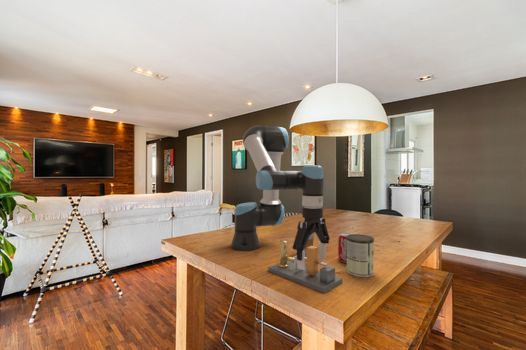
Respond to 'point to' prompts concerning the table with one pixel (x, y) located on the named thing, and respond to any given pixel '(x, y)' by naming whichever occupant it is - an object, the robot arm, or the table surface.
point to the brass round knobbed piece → (284, 255)
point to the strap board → (304, 277)
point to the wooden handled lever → (310, 261)
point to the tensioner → (327, 274)
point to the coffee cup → (308, 242)
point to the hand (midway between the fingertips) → (312, 264)
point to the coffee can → (360, 255)
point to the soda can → (342, 247)
